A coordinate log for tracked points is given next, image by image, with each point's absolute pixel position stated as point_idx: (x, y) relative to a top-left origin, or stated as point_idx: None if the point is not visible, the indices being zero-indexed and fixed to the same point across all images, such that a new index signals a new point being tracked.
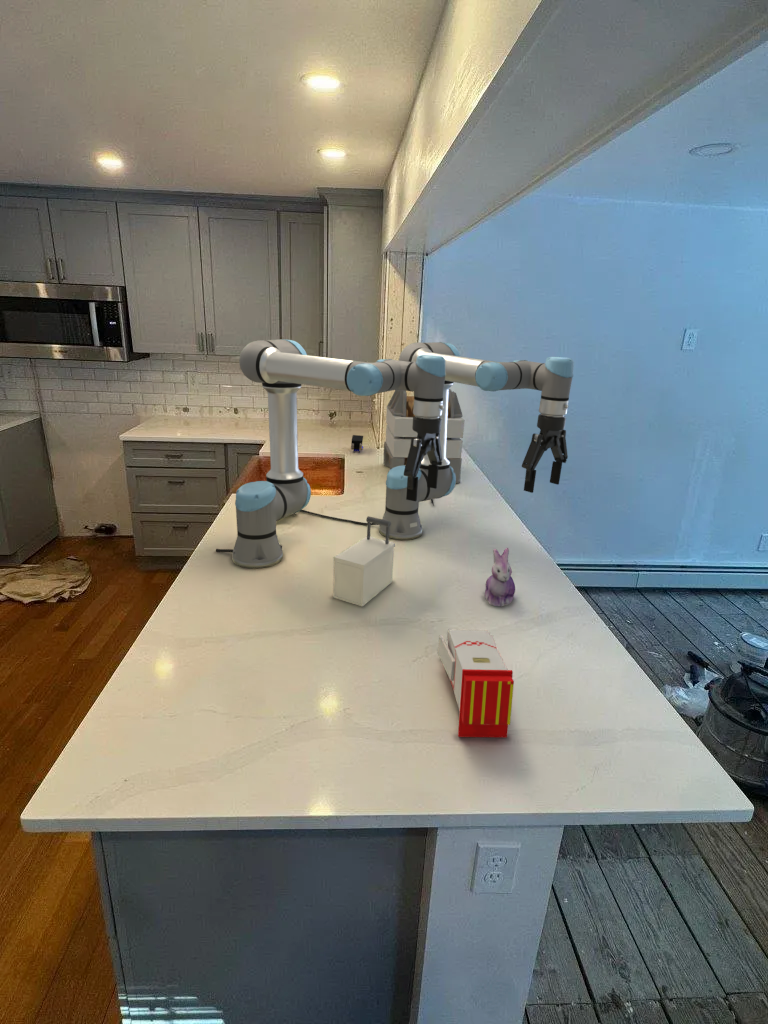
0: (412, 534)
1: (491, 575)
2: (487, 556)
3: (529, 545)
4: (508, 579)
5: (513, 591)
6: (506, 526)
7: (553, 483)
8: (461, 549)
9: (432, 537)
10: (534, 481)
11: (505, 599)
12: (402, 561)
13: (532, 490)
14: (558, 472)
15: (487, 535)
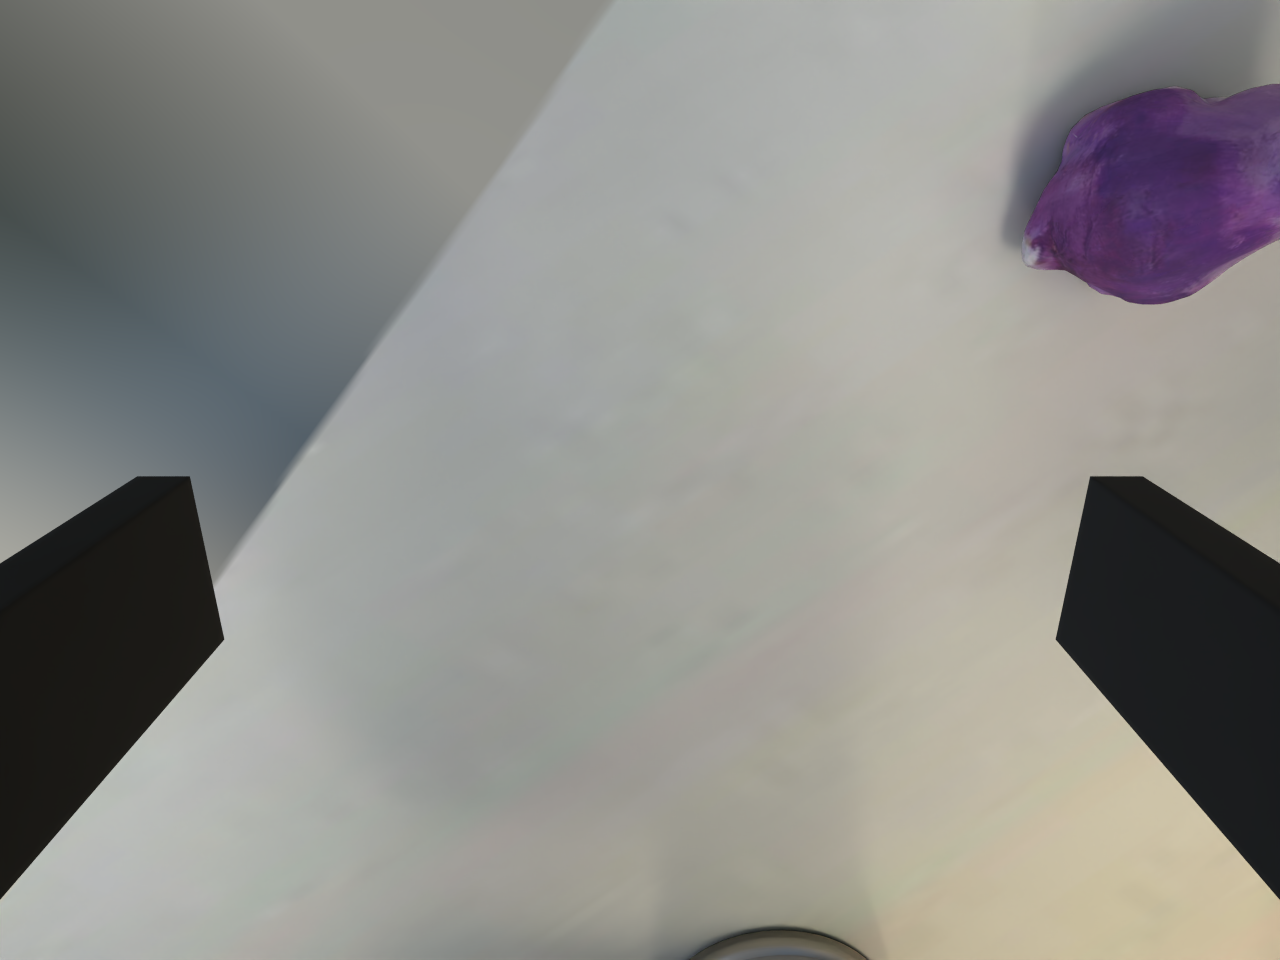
0: (810, 957)
1: (1192, 282)
2: (650, 586)
3: (275, 530)
4: (1276, 112)
5: (1169, 88)
6: (170, 776)
7: (206, 563)
8: (693, 725)
9: (689, 897)
10: (1259, 585)
11: (1209, 103)
12: (1071, 798)
13: (1149, 495)
14: (14, 634)
15: (393, 759)
